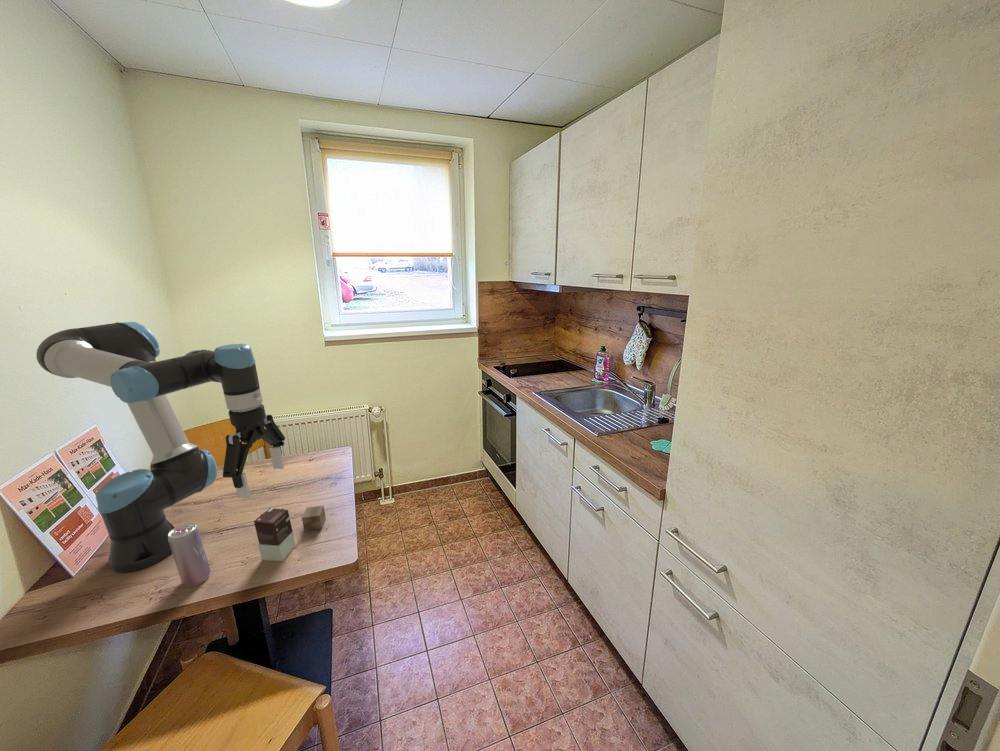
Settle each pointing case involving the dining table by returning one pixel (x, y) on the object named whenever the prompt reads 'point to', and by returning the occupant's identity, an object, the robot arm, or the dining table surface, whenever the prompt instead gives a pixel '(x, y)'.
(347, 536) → the dining table surface
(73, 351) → the robot arm
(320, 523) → the walnut cube
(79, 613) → the dining table surface
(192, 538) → the beverage can
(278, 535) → the box
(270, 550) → the base block
